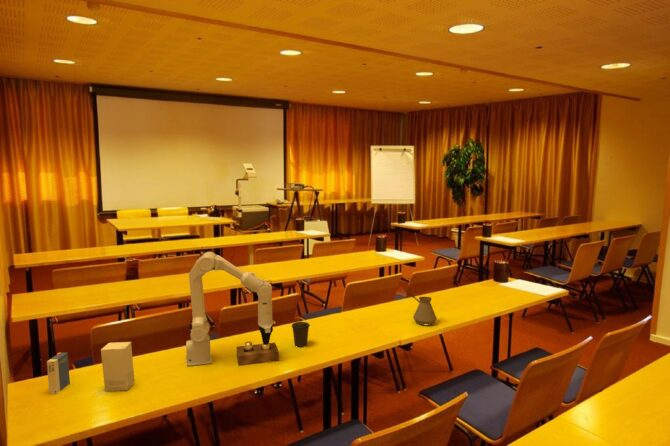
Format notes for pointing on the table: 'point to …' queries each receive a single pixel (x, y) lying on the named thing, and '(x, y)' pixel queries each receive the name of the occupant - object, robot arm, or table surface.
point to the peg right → (266, 347)
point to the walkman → (58, 373)
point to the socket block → (257, 354)
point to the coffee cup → (300, 333)
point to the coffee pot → (423, 310)
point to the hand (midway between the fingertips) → (265, 344)
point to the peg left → (248, 346)
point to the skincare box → (117, 366)
